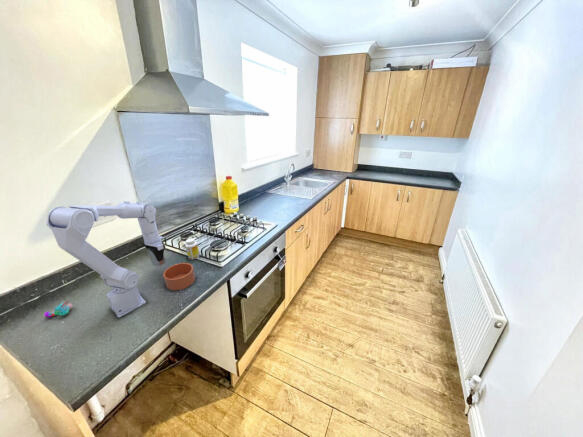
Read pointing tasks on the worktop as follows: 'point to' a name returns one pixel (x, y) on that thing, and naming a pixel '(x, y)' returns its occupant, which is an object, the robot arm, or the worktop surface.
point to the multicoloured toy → (63, 310)
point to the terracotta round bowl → (179, 276)
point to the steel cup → (153, 258)
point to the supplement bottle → (192, 248)
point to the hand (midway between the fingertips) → (157, 258)
